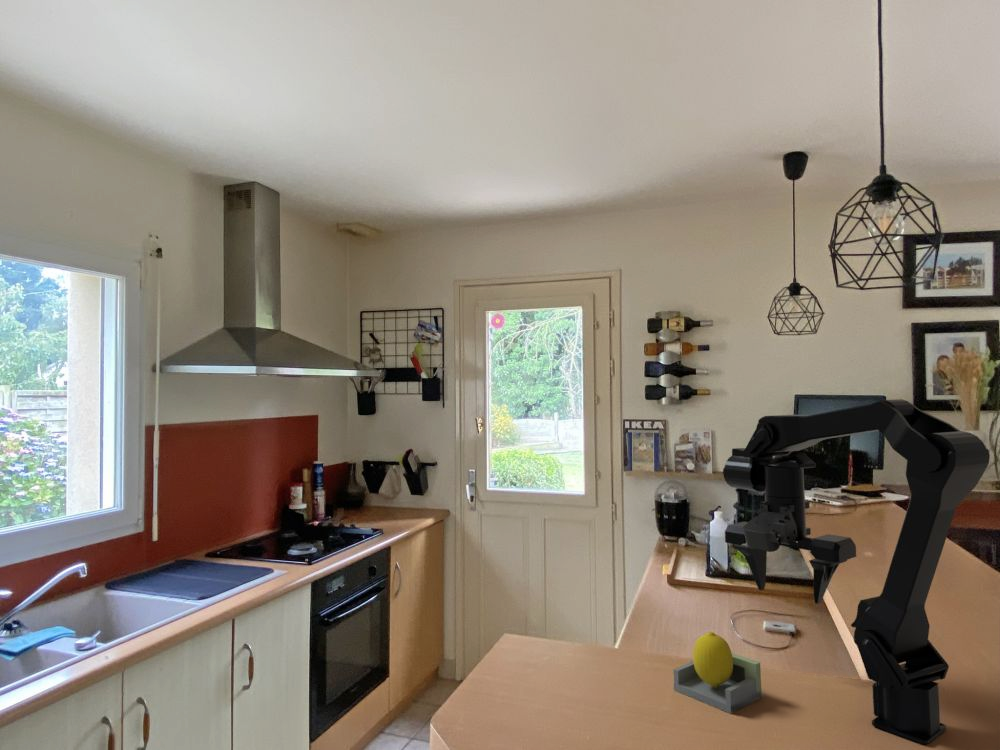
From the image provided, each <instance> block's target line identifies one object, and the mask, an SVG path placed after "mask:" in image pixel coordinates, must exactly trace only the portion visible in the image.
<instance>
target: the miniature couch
mask: <svg viewBox="0 0 1000 750" xmlns="http://www.w3.org/2000/svg"><path fill="white" fill-rule="evenodd" d="M731 653H732V657H733V670H732V674H731V676H730V678H729V679H728V680H727V681H726V682H725V683H723V684H720V685H719V686H718V687H717V688H713V687H712V686H711V685H710V684H708V683H706V682H704V681H703V680H702V679H701V678H700V677H699V675H698V674H697V672H696V670H695V667H694V662H693V660H692V661H690V662H688V663H685V664H682V665H680V666H678V667H675V668H673V691H676V692H678V693H680V694H683V695H685V696H687V697H689V698H692V699H695V700H697V701H700V702H702V703H704V704H706V705H709V706H712V707H714V708H716V709H719V710H721V711H724V712H726V713H728V714H733V713H735V712H737V711H739V710H741V709H742V708H744V707H746V706H748V705H751V704H752V703H755V702H756V701H758V700H760V699H762V697H763V696H762V693H763V692H762V678H761V677H762V675H761V670H762V669H761V662H760V661H757V660H755V659H751V658H748V657H745V656H742V655H740V654H737V653H733V652H731Z"/></svg>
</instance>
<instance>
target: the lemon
mask: <svg viewBox="0 0 1000 750" xmlns="http://www.w3.org/2000/svg"><path fill="white" fill-rule="evenodd" d="M732 653H733V652H732V650H731V648H730V645H729V643H728V642H727V640H725V638H723V637H722V636H721V635H718V634H716V633H714V631H709V632H708V633H706V634H705V633H704V634H703V635H701V636H700V637H699V638H698V639H697V640H696V641H695V643H694V647H693V654H692V655H693V656H692V658H693V660H692V661H693V662H694V667H695V670H696V672H697V674H698V675H699V677H700V678H701V679H702V680H703V681H704V682H706V683H708V684H710V685H711V686H712V687H713V688H717V687H718V686H719V685H720V684H723V683H725V682H726V681H727V680H728V679H729V678H730V676H731V674H732V670H733V657H732Z"/></svg>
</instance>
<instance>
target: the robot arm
mask: <svg viewBox="0 0 1000 750" xmlns="http://www.w3.org/2000/svg"><path fill="white" fill-rule="evenodd" d="M874 432H880V433H881V434H882V435H883V437H884V438H885V440H886V441H887V442H888V443H889V446H890V447H891V449H892V450H894V451H895V452H896V453H897V454H898V455H900V456H901V457H902V458H904V459H905V460H906V467H905V478H906V481H907V485H908V488H909V491H910V492H909V493H910V499H909V503H908V506H907V509H906V512H905V515H904V520H903V523H902V526H901V528H900V532H899V535H898V538H897V542H896V544H895V545H896V546H895V549H894V550H893V551H894V552H893V555H892V559H891V561H890V565H889V568H888V571H887V575H886V578H885V582H884V585H883V587H882V590H881V593H880V595H879V596H873V597H869V598H865V599H861V600H859V603H858V605H857V611H856V617H855V619H854V621H853V622H852V623H851V624H850V626H851V628H854V630H853V641H854V643H855V645H857V646H856V647H857V649H858V651H859V655H860V657H861V661H862V664H863V666H864V669H865V673H866V676H867V679H869V680H871V681H873V682H875V683H872V703H873V705H872V706H873V707H872V708H873V715H874V716H875V717H874V719H872V720H871V725H872V726H873V727H875V728H878V729H881V730H884V731H887V732H889V733H892V734H894V735H897V736H900V737H903V738H905V739H908V740H911V741H914V742H916V743H920V744H922V745H929V744H930V743H931V742H932V741H933V740H935V739H936V738H937V737H938V736H939V735H941V734H942V733H944V731H945V730H946V729H947V725H946V724H945V723H942V722H941V717H940V697H939V693H940V692H939V683H938V682H936V681H939V680H942V681H943V680H945V679H946V676H947V673H948V671H949V668H950V665H949V664H948V662H947V661H946V660H945V659H944V658H943V656H942V655H941V654H940V652H939V651H938V650H937V649H936V648H935V646H934V645H933V644H932V642H931V641H930V640H929V635H930V623H929V619H928V615H927V612H926V609H925V606H926V601H927V598H928V595H929V593H930V589H931V587H932V582H933V580H934V577H935V574H936V571H937V569H938V568H937V567H938V564H939V561H940V558H941V556H942V552H943V549H944V547H945V544H946V539H947V537H948V534H949V531H950V528H951V525H952V522H953V519H954V516H955V513H956V510H957V507H959V505H960V504H961V503H962V501H963V500H965V498H967V496H968V495H969V494H970V493H971V492H972V491H973V490H974V489H975V488H976V487H977V485H978V484H979V481H980V480H981V478H982V477H983V475H984V474H985V471H986V470H987V469H988V466H989V464H990V457H991V456H990V450H989V449H988V448H987V446H986V445H985V443H984V442H983V440H981V438H979V437H978V436H977V435H975V434H973V433H971V432H968V431H965V430H964V431H963V430H960V429H958V428H957V427H955V426H954V425H952V424H951V423H949V422H947V421H946V420H945V421H944V420H943V419H941V418H938V417H936V416H933V415H932V414H929V413H928V412H925V411H923V410H921V409H920V408H918V407H917V406H916V405H914V404H913V403H911V402H910V401H908V400H905V399H895V398H894V399H878V400H877V401H874V402H872V403H867V404H863V405H862V404H861V405H858V406H853V407H852V406H851V407H846V408H842V409H841V408H840V409H836V410H832V411H831V410H830V411H826V412H820V413H816V414H778V415H775V414H774V415H764V416H762V417H760V418H759V419H758V421H757V424H756V427H755V430H754V432H753V434H752V436H751V437H750V439H749V441H748V443H747V444H746V447H737V448H731V456H729V457H728V458H727V460H726V462H725V463H724V467H723V470H722V474H723V478H724V481H725V482H726V484H727V485H728V486H729V487H730V488H735V489H739V490H740V489H741V490H747V491H752V492H753V491H754V492H764V501H760V504H759V512H758V515H756V516H754V517H753V518H751V519H750V520H749V521H748V522H747V521H740V522H737V523H733V524H728V525H727V526H726V528H725V530H724V542H725V543H726V544H731V547H732V548H733V550H737V552H739V553H740V554H741V555H742V556H743V557H744V558H745V561H746V563H747V565H748V568H749V569H750V572H751V573H752V576H753V579H754V582H755V584H756V587H757V590H759V591H764V590H765V588H766V581H767V561H768V559H767V558H768V557H767V556H768V553H772V552H773V553H774V552H776V551H778V550H779V549H780V546H782V547H788V548H794V549H798V550H804V551H805V550H806V551H810V552H809V553H810V554H811V555H812V556H813V559H809V560H808V562H809V564H810V565H811V568H812V569H813V598H814V603H815V604H816V605H819V604H820V603H822V601H823V598H824V596H825V594H826V592H827V589H828V588H829V585H830V582H831V580H832V578H833V576H834V573H835V572H836V571H837V569H838V567H839V566H840V564H843V563H846V562H848V560H850V559H853V558H857V545H856V543H855V542H854V540H853V539H852V538H851V537H850V536H849V537H848V536H844V535H843V536H842V535H836V534H829V533H827V534H823V535H820V536H816V537H808V536H811V534H812V533H811V532H812V530H811V527H808V526H807V522H806V521H807V520H806V519H807V518H806V510H807V509H810V507H811V506H810V501H808V500H805V499H806V496H805V493H806V492H805V474H804V472H805V471H804V469H811V468H812V469H813V468H816V466H817V464H816V463H815V461H813V460H812V459H811V457H809V456H807V454H806V453H805V451H802V450H805V449H807V448H810V447H813V446H815V445H817V444H819V443H820V442H821V441H825V440H828V439H833V438H840V437H848V436H853V435H862V434H867V433H874ZM791 453H792V454H791ZM790 454H791V455H790Z"/></svg>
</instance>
